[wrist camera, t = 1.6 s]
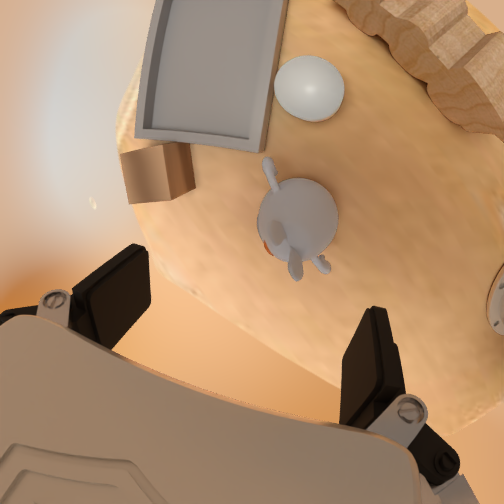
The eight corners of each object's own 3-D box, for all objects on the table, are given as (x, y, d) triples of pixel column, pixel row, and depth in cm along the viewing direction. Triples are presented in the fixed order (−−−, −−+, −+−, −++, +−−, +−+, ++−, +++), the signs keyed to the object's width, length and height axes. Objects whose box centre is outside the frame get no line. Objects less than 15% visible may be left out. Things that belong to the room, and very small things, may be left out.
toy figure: (247, 169, 26) (186, 201, 15) (305, 136, 23) (282, 142, 13) (301, 262, 28) (279, 343, 18) (358, 237, 25) (370, 314, 15)
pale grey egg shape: (345, 75, 20) (348, 63, 15) (336, 127, 22) (338, 126, 18) (289, 65, 20) (279, 51, 16) (281, 116, 23) (269, 113, 18)
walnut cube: (189, 140, 26) (162, 144, 22) (196, 187, 28) (171, 200, 24) (149, 147, 27) (120, 154, 23) (156, 191, 29) (129, 204, 25)
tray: (291, -17, 16) (287, -27, 14) (264, 151, 24) (258, 153, 23) (171, -10, 19) (160, -17, 17) (146, 136, 27) (134, 138, 25)
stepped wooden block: (364, -21, 14) (372, -78, 5) (491, 108, 16) (553, 109, 7) (328, 6, 17) (322, -50, 8) (460, 139, 19) (520, 151, 10)
